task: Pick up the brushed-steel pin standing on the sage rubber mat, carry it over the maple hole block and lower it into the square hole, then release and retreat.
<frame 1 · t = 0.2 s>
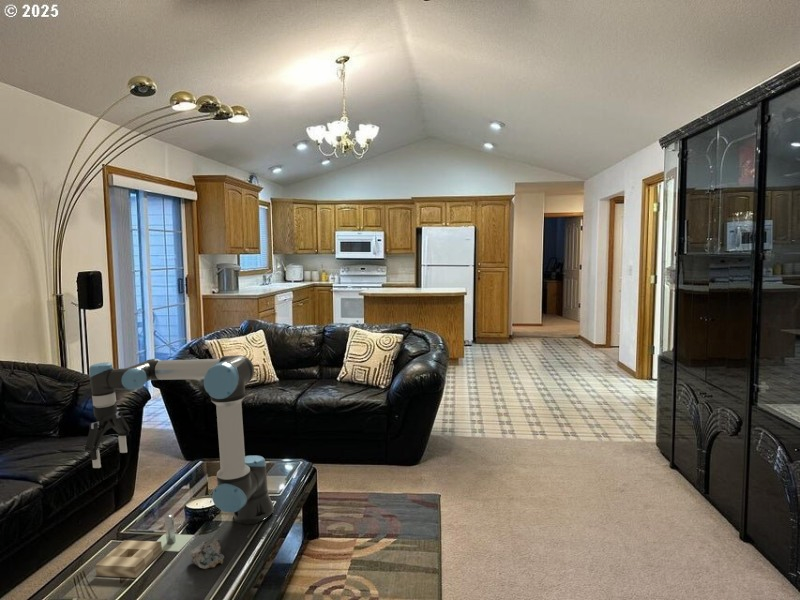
hand: (110, 459, 190), 28 cm above the table, fingers open, 13 cm apart
mat: (171, 543, 182), on the table
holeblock: (130, 564, 171), on the table
pin: (171, 542, 182), resting on mat
mineral specimen: (207, 563, 170), on the table
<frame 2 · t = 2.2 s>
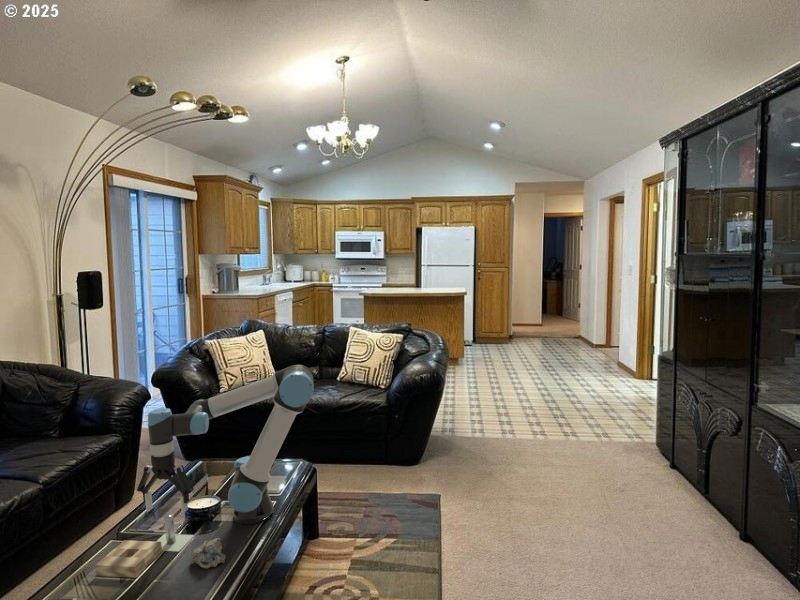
hand: (167, 510, 181), 12 cm above the table, fingers open, 13 cm apart
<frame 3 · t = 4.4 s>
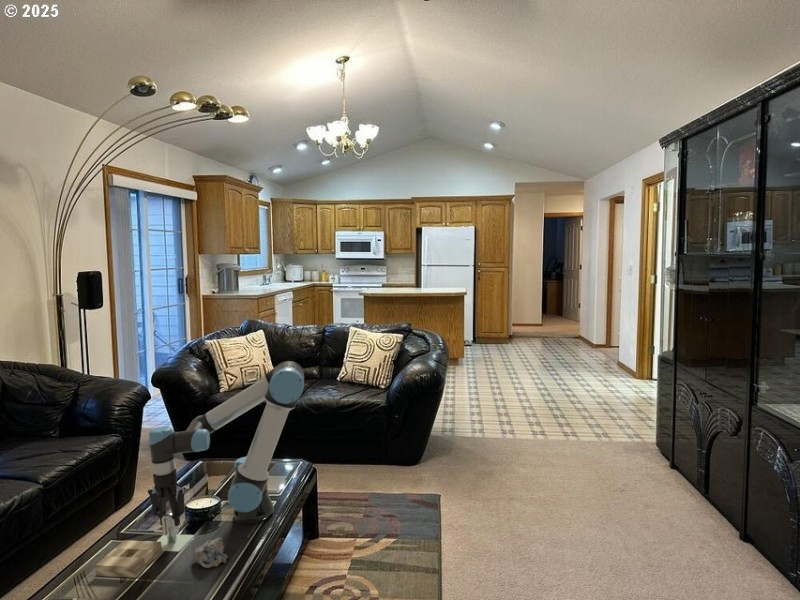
hand: (171, 533, 182), 4 cm above the table, fingers closed on pin, 3 cm apart
pin: (172, 540, 182), point 1 cm above the table, touching gripper
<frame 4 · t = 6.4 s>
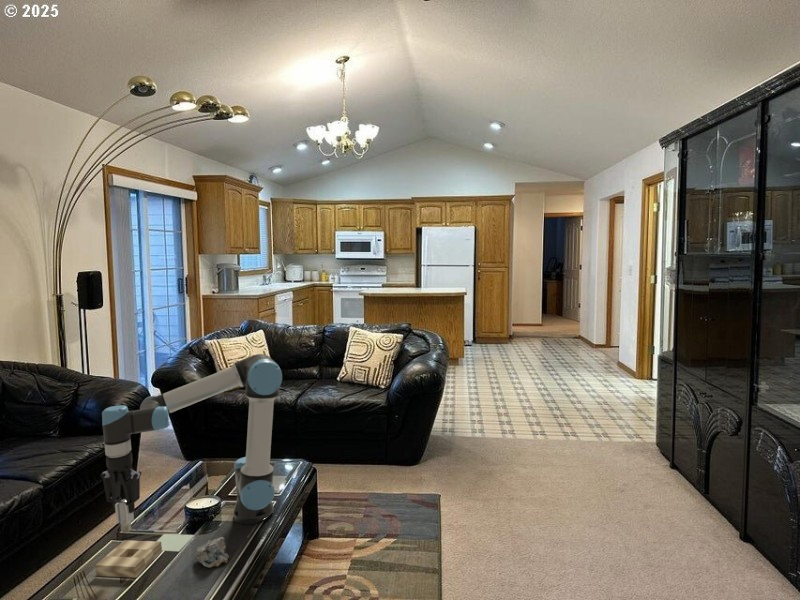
hand: (125, 521, 169), 15 cm above the table, fingers closed on pin, 3 cm apart
pin: (126, 529, 169), point 12 cm above the table, touching gripper
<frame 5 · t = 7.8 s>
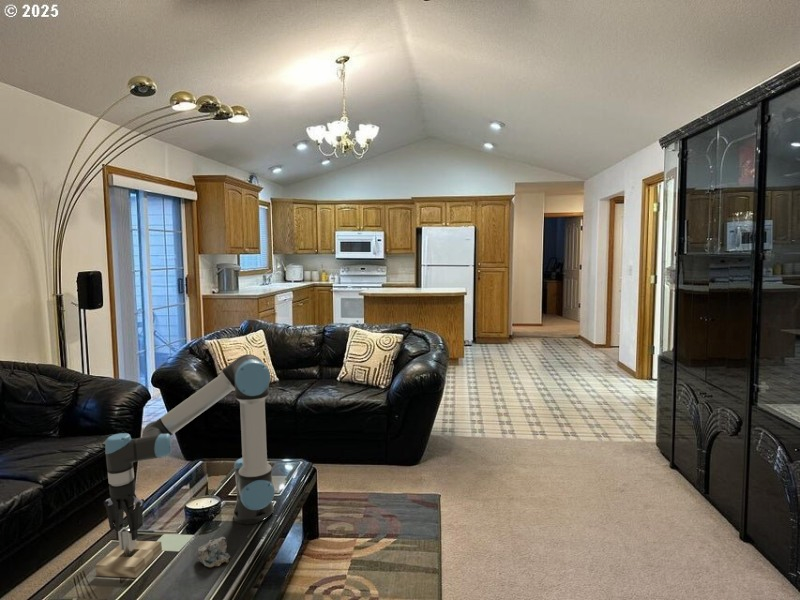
hand: (128, 548, 170), 6 cm above the table, fingers closed on pin, 3 cm apart
pin: (129, 558, 170), point 2 cm above the table, touching gripper
when the fingers open (5 cm above the table, at t = 8.8 s): pin drops 2 cm, resting in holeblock.
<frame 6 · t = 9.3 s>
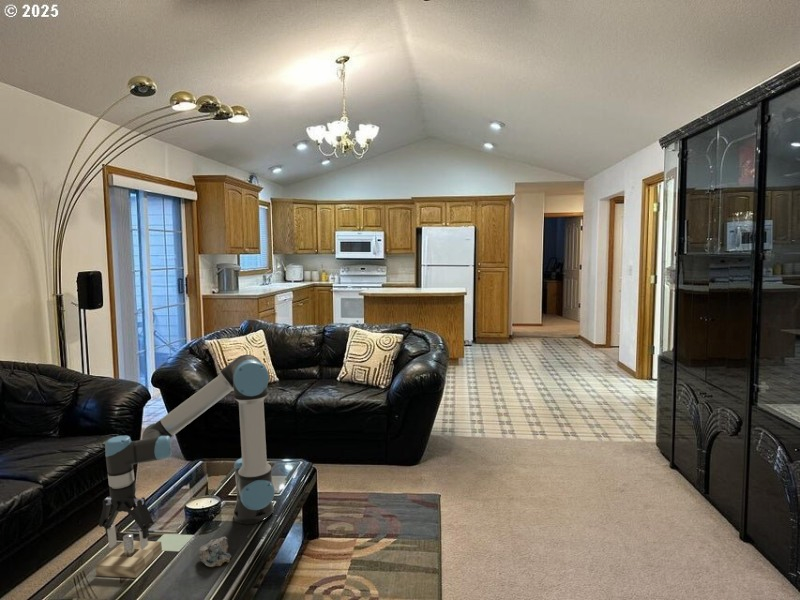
hand: (128, 546, 170), 6 cm above the table, fingers open, 11 cm apart
pin: (130, 564, 171), resting in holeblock
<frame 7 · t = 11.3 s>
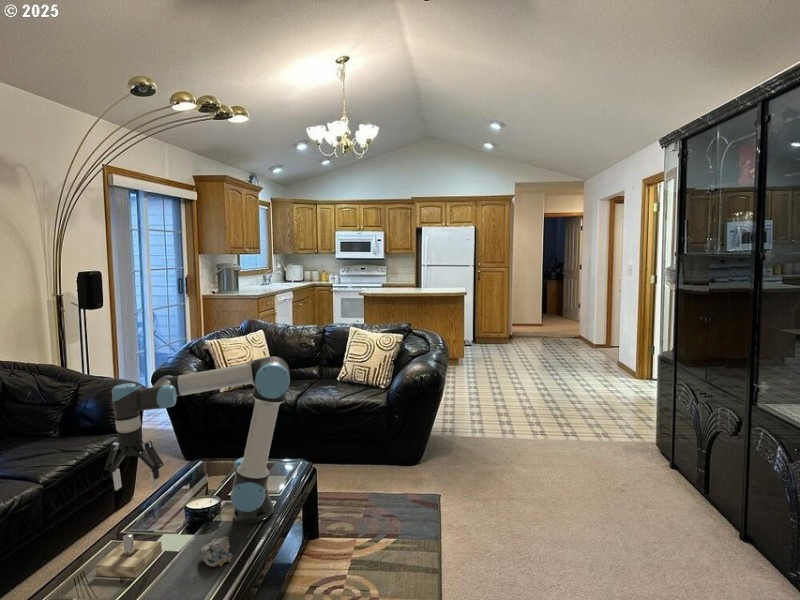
hand: (136, 488, 176), 23 cm above the table, fingers open, 13 cm apart
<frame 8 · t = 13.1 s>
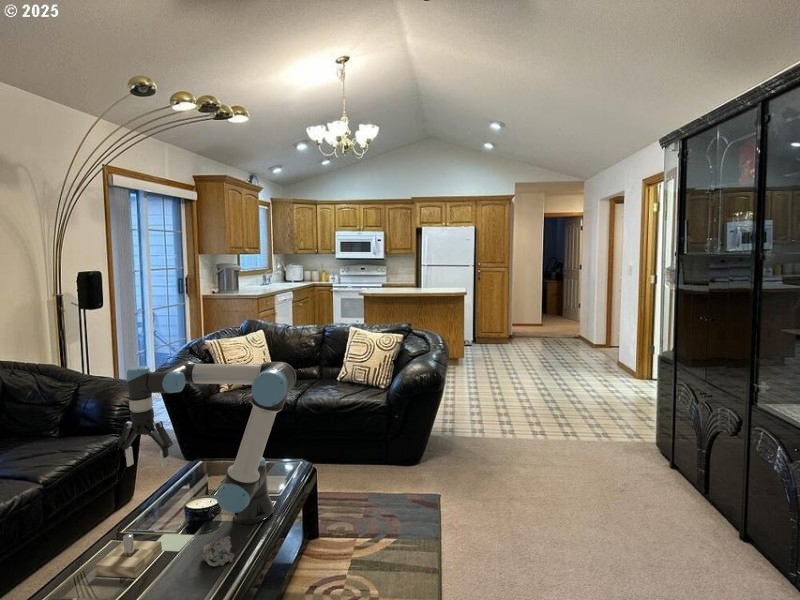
hand: (147, 465, 186), 27 cm above the table, fingers open, 13 cm apart
at the end: pin 0.1 cm off-centre on the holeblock, point 0.0 cm above the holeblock's base; pin tilted 0°; the gripper is holding nothing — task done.
